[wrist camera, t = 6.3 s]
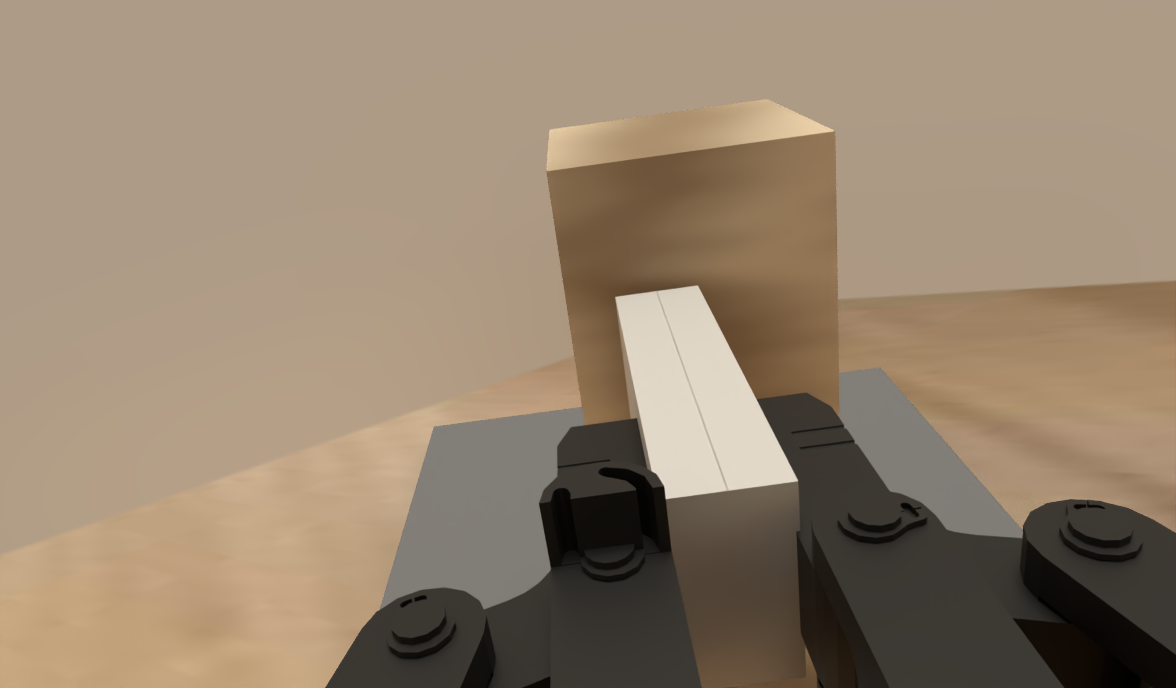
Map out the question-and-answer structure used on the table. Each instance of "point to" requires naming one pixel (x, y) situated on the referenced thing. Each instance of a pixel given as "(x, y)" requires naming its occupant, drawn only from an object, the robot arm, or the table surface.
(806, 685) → the beech block
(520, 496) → the felt mat
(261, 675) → the table surface
